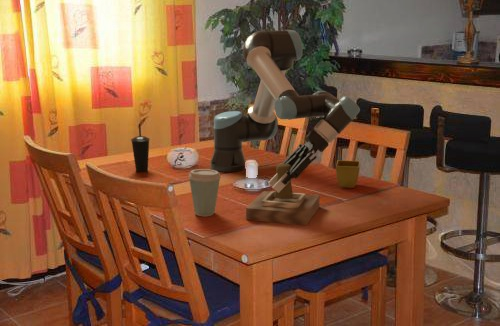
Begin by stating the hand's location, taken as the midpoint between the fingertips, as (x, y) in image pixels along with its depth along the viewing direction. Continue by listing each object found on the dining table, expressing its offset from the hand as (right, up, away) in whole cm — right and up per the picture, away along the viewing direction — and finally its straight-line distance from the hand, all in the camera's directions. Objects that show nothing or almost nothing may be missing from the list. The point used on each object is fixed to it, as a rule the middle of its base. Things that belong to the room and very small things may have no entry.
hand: (273, 187), depth 223 cm
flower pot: (+29, -1, +34) cm, 45 cm away
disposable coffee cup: (-23, -9, +3) cm, 25 cm away
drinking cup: (-53, +5, +58) cm, 79 cm away
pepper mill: (+4, -3, +2) cm, 5 cm away
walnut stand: (+4, -9, +3) cm, 10 cm away
